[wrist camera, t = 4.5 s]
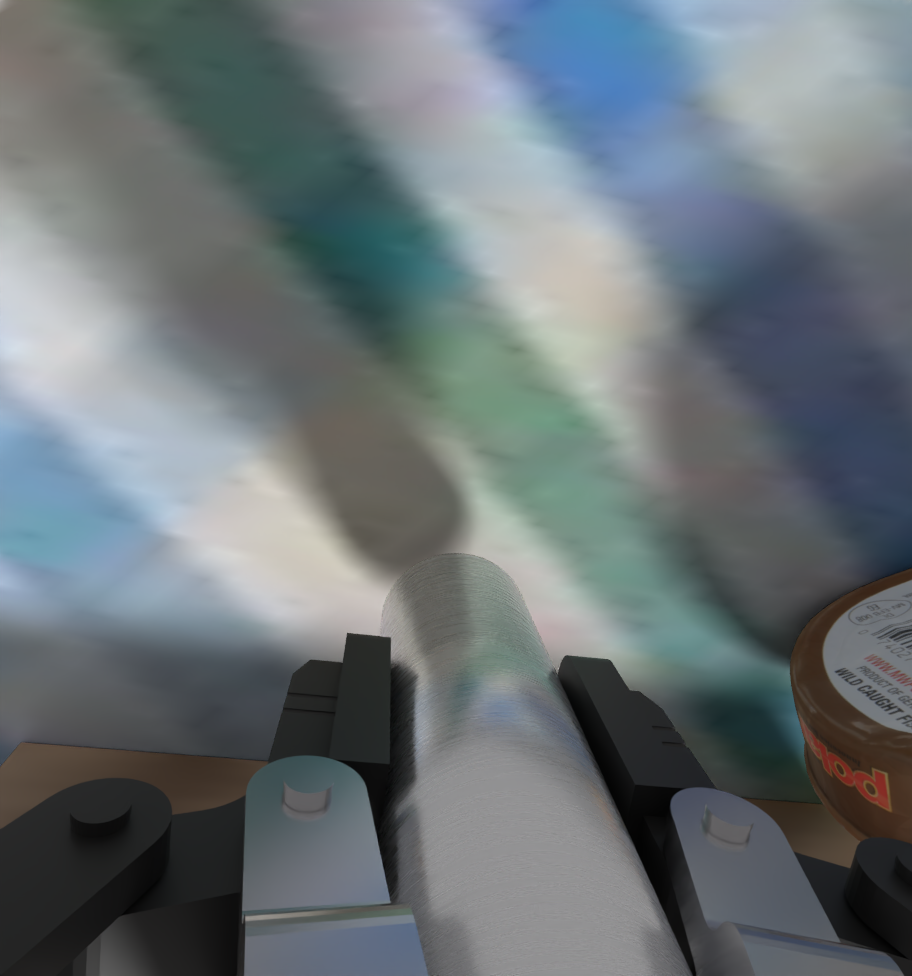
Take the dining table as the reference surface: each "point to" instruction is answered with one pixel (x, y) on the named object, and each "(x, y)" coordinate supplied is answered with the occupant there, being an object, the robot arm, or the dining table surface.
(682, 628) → the dining table surface
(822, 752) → the tin
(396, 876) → the peg
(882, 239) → the dining table surface
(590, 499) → the dining table surface
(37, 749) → the hole block
